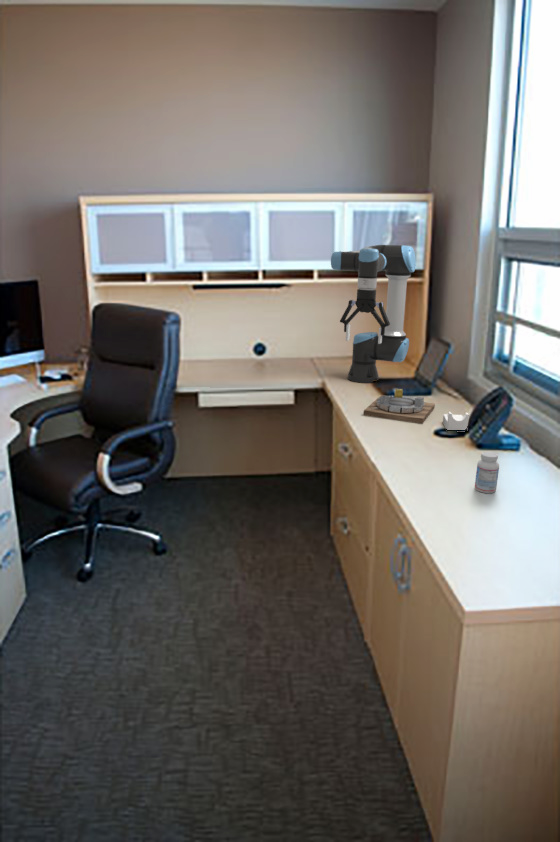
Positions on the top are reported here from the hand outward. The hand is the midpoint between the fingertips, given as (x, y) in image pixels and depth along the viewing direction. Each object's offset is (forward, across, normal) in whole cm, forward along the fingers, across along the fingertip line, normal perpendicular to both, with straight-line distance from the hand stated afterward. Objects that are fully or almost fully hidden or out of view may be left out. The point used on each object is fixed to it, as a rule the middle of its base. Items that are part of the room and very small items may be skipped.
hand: (363, 341), depth 258 cm
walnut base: (+28, +17, +2) cm, 33 cm away
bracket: (+28, +41, -9) cm, 50 cm away
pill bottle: (+28, +59, -66) cm, 93 cm away
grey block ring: (+26, +17, +2) cm, 31 cm away
